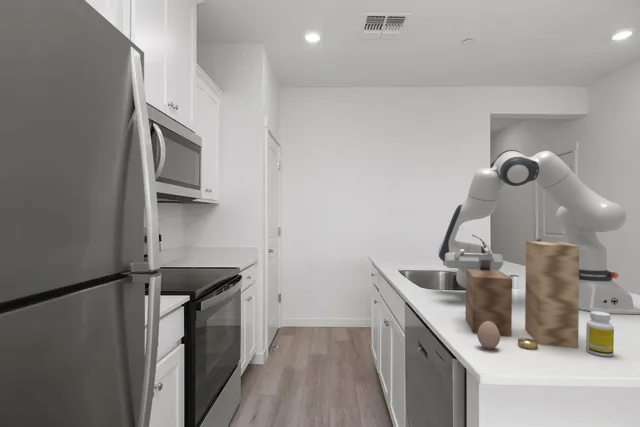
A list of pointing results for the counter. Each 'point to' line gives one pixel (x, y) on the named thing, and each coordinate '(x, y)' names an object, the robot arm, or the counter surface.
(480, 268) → the hook bar
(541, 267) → the oak shelf block
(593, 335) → the supplement bottle
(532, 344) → the brass disc
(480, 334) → the egg
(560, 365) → the counter surface
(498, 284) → the walnut block
